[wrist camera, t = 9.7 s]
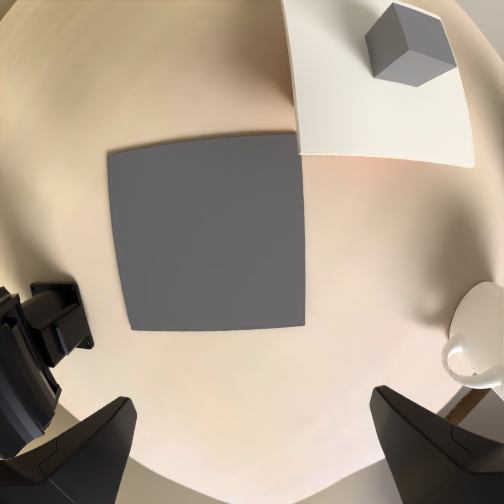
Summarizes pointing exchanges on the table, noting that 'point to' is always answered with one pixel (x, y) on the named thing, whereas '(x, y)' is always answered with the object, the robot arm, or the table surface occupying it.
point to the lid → (375, 82)
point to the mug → (479, 337)
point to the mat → (210, 233)
